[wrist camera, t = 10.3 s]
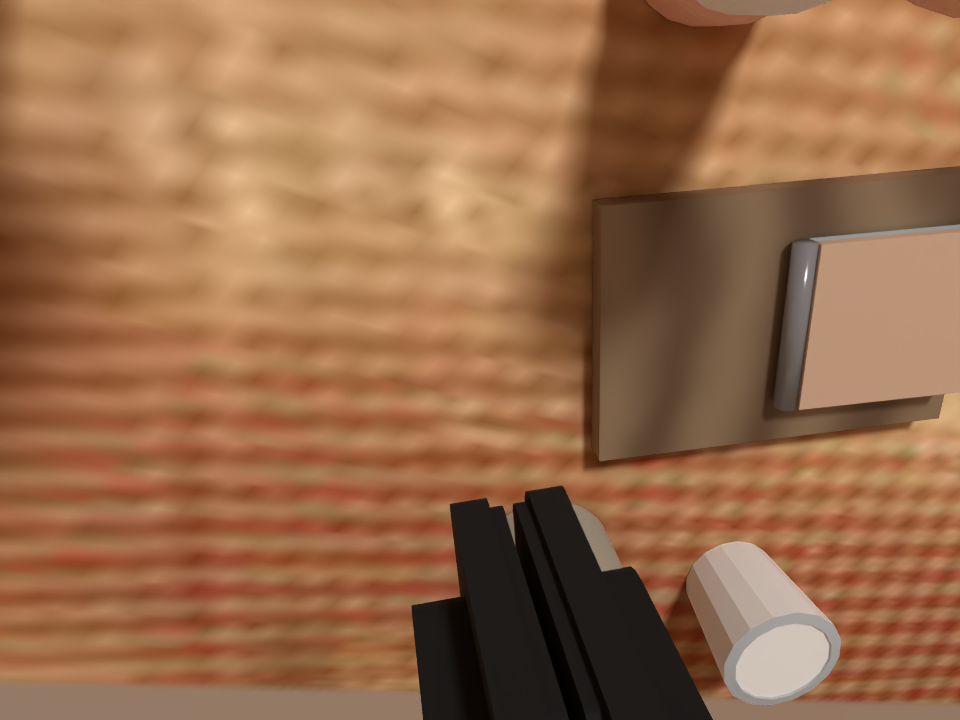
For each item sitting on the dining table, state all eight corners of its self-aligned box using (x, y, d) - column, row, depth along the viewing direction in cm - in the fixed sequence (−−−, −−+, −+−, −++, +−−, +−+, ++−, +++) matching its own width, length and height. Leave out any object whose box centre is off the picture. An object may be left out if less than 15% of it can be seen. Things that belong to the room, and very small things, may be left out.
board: (591, 447, 41) (599, 461, 40) (592, 199, 35) (601, 206, 34) (921, 405, 43) (938, 418, 42) (973, 165, 37) (995, 170, 36)
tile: (959, 392, 39) (943, 382, 41) (998, 228, 36) (980, 222, 37) (779, 412, 39) (768, 401, 40) (800, 246, 35) (787, 240, 36)
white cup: (770, 518, 45) (835, 597, 39) (786, 596, 48) (848, 682, 42) (665, 556, 45) (713, 641, 39) (688, 632, 48) (735, 722, 42)
